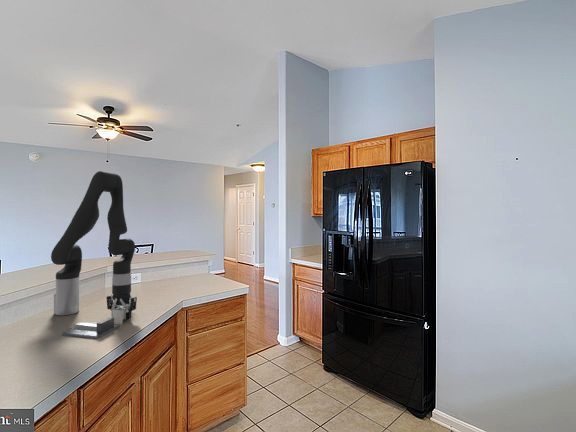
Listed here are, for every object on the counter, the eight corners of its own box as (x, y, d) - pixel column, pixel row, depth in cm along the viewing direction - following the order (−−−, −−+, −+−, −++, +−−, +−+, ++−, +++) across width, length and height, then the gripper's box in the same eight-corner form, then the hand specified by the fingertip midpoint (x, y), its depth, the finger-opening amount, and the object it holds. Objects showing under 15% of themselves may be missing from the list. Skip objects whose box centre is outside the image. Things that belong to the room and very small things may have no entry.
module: (112, 323, 130) (112, 309, 130) (121, 318, 136) (121, 305, 136) (120, 324, 130) (121, 310, 129) (130, 319, 135) (130, 306, 135)
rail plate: (62, 335, 117) (62, 322, 117) (87, 323, 129) (87, 312, 129) (96, 338, 114) (97, 326, 114) (119, 326, 126) (119, 315, 126)
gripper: (101, 283, 130) (101, 320, 130) (130, 285, 128) (129, 323, 128) (114, 280, 137) (113, 315, 138) (141, 281, 135) (141, 317, 135)
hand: (121, 319), depth 133 cm, fingers open, 6 cm apart
